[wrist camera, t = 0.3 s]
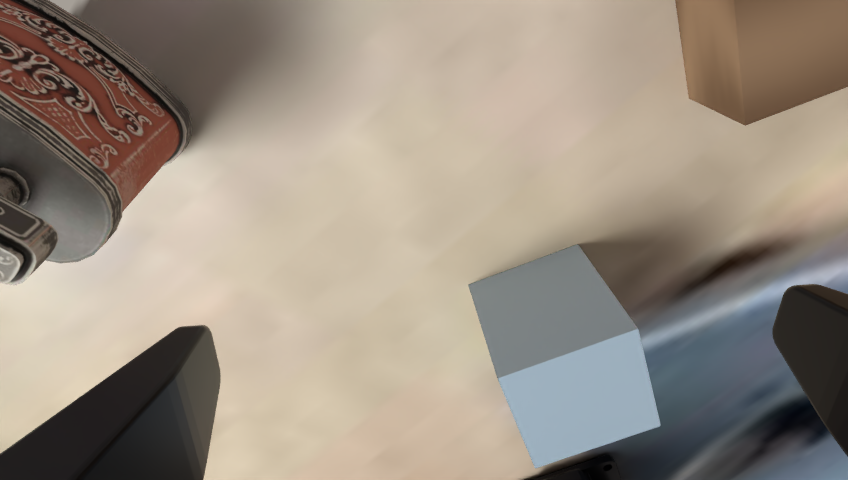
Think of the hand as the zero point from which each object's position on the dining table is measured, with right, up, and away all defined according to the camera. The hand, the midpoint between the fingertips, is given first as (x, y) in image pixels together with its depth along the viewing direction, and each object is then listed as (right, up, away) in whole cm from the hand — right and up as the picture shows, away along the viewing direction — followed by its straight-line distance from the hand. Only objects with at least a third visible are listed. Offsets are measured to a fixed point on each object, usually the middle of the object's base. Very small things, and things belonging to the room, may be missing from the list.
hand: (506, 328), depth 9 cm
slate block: (+4, -2, +17) cm, 17 cm away
